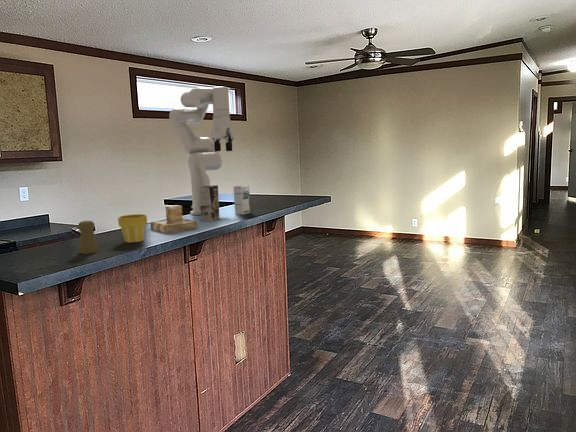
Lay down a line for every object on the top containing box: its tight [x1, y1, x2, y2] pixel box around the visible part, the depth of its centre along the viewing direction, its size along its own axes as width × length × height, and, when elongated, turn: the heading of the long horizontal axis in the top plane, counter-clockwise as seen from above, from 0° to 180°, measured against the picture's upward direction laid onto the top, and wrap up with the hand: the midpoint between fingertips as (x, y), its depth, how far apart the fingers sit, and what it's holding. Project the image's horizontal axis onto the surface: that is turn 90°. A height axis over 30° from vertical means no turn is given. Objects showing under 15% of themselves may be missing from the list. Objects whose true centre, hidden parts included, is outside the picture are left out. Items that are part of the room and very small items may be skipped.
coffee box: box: [199, 185, 221, 222], centre depth 228 cm, size 9×6×16 cm
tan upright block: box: [165, 204, 183, 224], centre depth 205 cm, size 5×5×7 cm
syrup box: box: [233, 184, 251, 215], centre depth 244 cm, size 6×6×14 cm
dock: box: [150, 217, 199, 234], centre depth 207 cm, size 16×14×3 cm
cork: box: [77, 220, 99, 255], centre depth 166 cm, size 6×6×11 cm
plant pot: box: [117, 213, 148, 244], centre depth 183 cm, size 10×10×10 cm
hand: (223, 151), depth 224 cm, fingers open, 9 cm apart
